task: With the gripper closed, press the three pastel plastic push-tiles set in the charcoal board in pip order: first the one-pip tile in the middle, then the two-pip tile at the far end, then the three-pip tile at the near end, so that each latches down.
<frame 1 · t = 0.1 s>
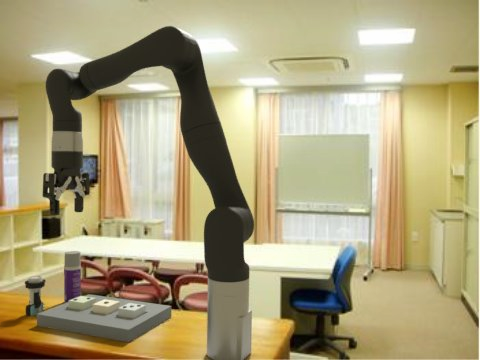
hand: (67, 213, 119), 29 cm above the table, fingers open, 8 cm apart
tile two pips: (82, 303, 127), point 4 cm above the table, slide at 0.0 cm
container: (72, 302, 141), on the table
push button: (36, 313, 131), on the table
tile one pip: (106, 307, 124), point 4 cm above the table, slide at 0.0 cm
tile three pips: (131, 310, 121), point 4 cm above the table, slide at 0.0 cm
button board: (106, 321, 125), on the table
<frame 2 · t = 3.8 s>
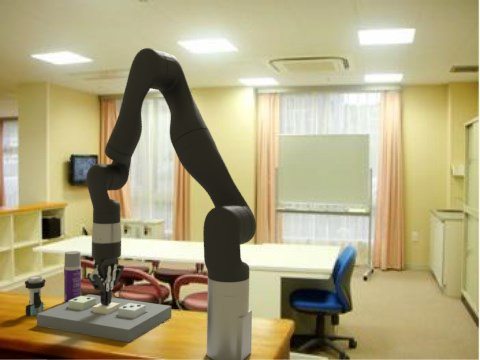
hand: (106, 304, 124), 5 cm above the table, fingers closed
tile one pip: (106, 309, 124), point 3 cm above the table, slide at 0.6 cm, touching gripper
everything else where it was.
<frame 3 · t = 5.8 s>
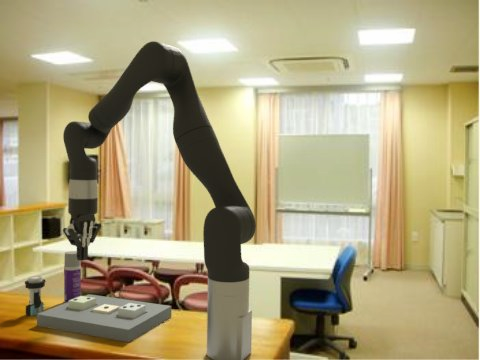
hand: (82, 259, 127), 16 cm above the table, fingers closed
tile one pip: (106, 311, 124), point 2 cm above the table, slide at 1.3 cm
everything else where it was.
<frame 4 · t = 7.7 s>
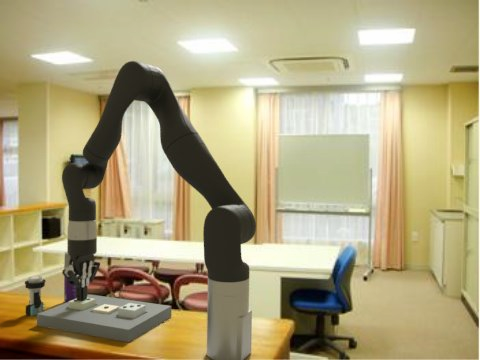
hand: (81, 299, 127), 5 cm above the table, fingers closed
tile two pips: (82, 304, 127), point 4 cm above the table, slide at 0.3 cm, touching gripper
everything else where it was.
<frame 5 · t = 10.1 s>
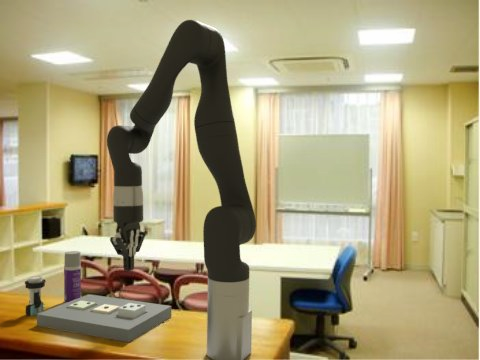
hand: (128, 270, 121), 14 cm above the table, fingers closed
tile two pips: (82, 308, 127), point 2 cm above the table, slide at 1.3 cm
everything else where it was.
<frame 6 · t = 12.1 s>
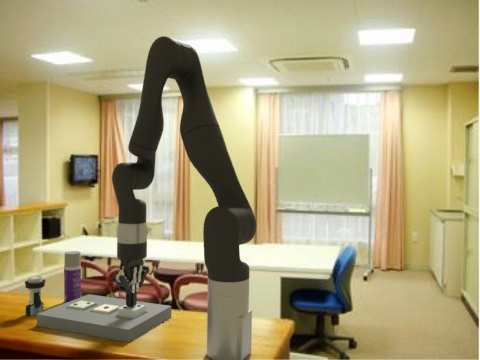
hand: (131, 306, 122), 5 cm above the table, fingers closed
tile three pips: (131, 311, 121), point 4 cm above the table, slide at 0.1 cm, touching gripper
everything else where it was.
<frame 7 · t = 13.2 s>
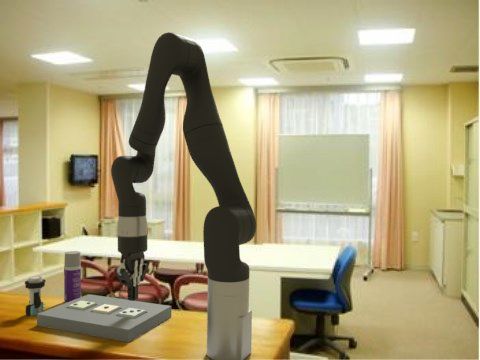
hand: (133, 299, 121), 7 cm above the table, fingers closed
tile three pips: (131, 315, 122), point 2 cm above the table, slide at 1.3 cm
everything else where it was.
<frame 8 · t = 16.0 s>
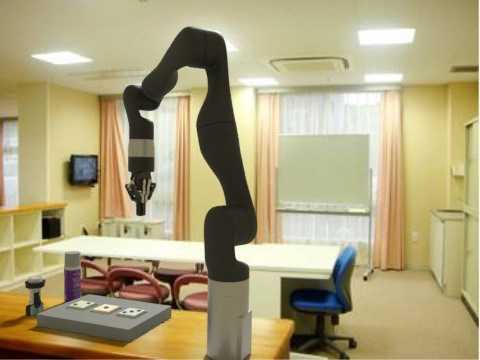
hand: (140, 215, 135), 27 cm above the table, fingers closed
nothing on the table moved.
at the end: tile one pip slide at 1.3 cm; tile two pips slide at 1.3 cm; tile three pips slide at 1.3 cm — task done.
